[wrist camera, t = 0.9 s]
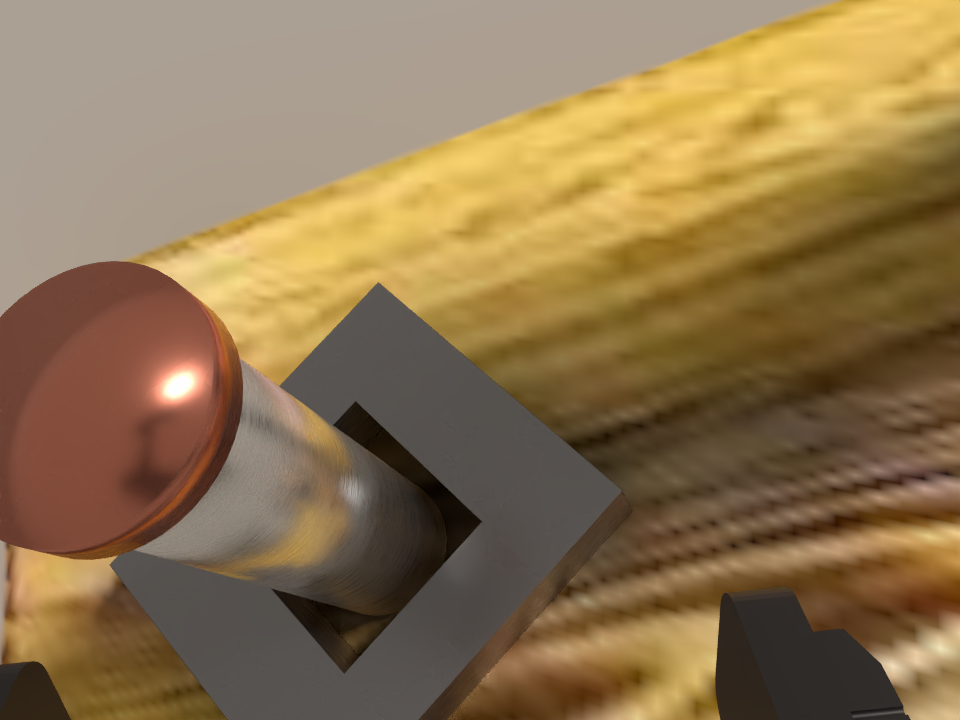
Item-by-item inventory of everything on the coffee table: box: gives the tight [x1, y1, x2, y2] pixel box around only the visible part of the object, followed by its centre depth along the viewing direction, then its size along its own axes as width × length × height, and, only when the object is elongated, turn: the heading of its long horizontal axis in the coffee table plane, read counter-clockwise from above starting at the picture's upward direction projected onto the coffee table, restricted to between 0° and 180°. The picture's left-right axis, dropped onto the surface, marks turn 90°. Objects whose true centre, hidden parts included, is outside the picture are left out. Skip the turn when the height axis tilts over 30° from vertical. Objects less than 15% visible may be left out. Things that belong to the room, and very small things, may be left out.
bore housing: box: [110, 282, 632, 720], centre depth 32 cm, size 14×12×3 cm
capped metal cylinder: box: [0, 261, 447, 616], centre depth 26 cm, size 6×6×17 cm
